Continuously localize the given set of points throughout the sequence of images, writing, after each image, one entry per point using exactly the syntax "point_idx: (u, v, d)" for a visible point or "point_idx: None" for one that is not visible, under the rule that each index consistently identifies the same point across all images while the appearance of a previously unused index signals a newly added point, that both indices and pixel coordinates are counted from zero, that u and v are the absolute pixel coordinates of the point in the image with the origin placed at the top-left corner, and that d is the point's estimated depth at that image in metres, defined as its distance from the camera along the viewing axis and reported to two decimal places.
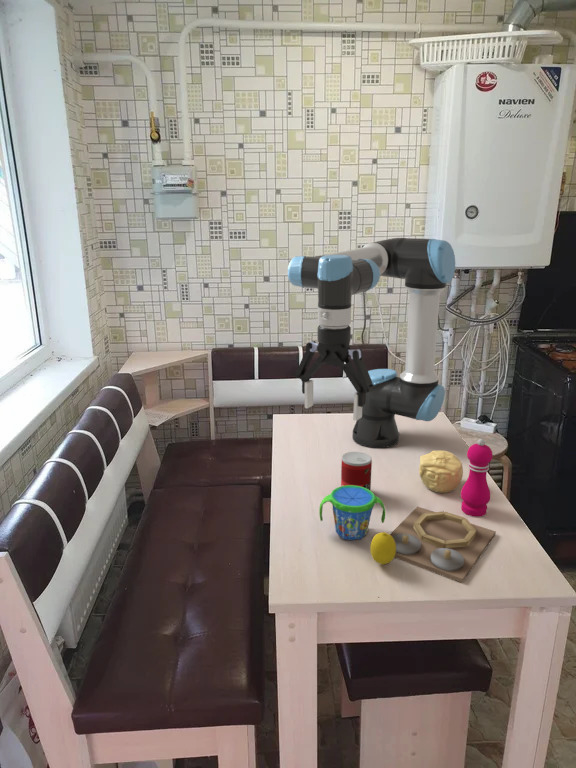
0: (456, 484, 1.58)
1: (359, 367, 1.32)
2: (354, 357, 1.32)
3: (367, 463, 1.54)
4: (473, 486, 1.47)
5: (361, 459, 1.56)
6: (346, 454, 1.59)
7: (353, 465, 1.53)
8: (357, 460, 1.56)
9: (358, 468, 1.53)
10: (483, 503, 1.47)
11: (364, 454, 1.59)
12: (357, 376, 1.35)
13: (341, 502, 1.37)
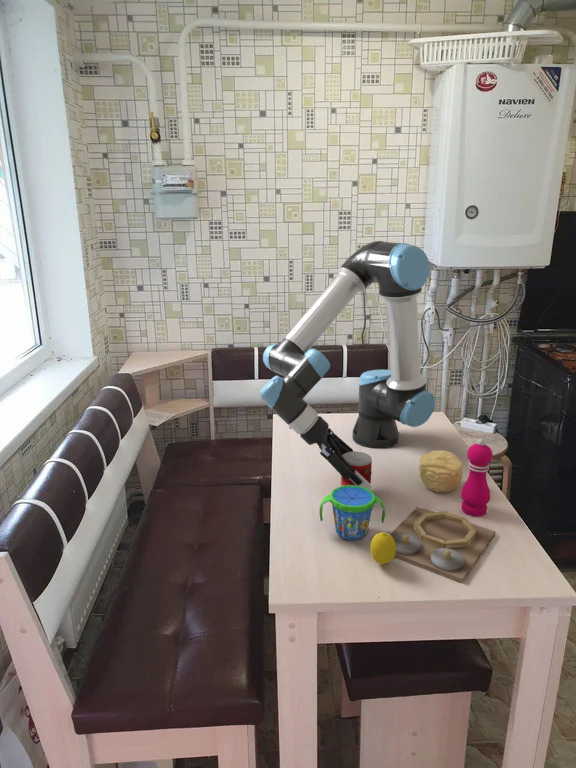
0: (456, 484, 1.58)
1: None
2: None
3: (367, 463, 1.54)
4: (473, 486, 1.47)
5: (361, 459, 1.56)
6: (346, 454, 1.59)
7: (353, 464, 1.53)
8: (357, 460, 1.56)
9: (358, 468, 1.53)
10: (483, 503, 1.47)
11: (364, 454, 1.59)
12: None
13: (341, 502, 1.37)
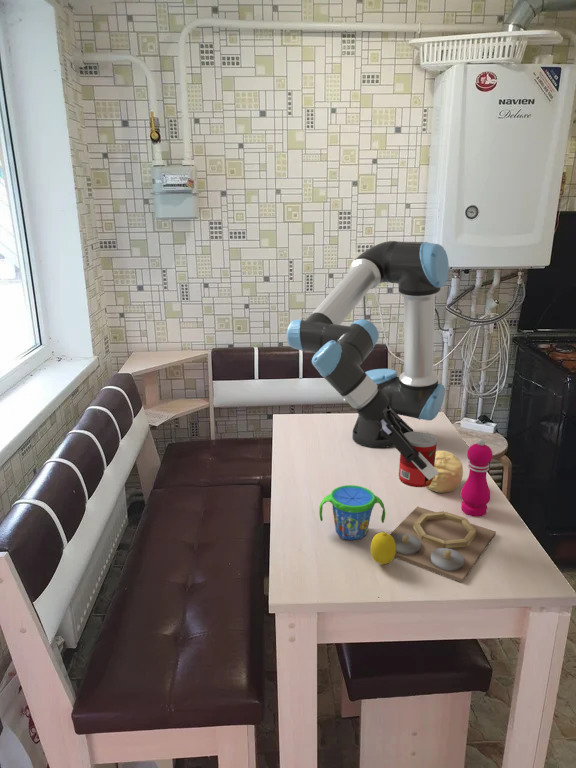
0: (456, 484, 1.58)
1: None
2: None
3: (432, 444, 1.34)
4: (473, 486, 1.47)
5: (424, 440, 1.36)
6: (407, 434, 1.39)
7: (417, 445, 1.33)
8: (420, 441, 1.36)
9: (422, 450, 1.33)
10: (483, 503, 1.47)
11: (427, 435, 1.39)
12: None
13: (341, 502, 1.37)
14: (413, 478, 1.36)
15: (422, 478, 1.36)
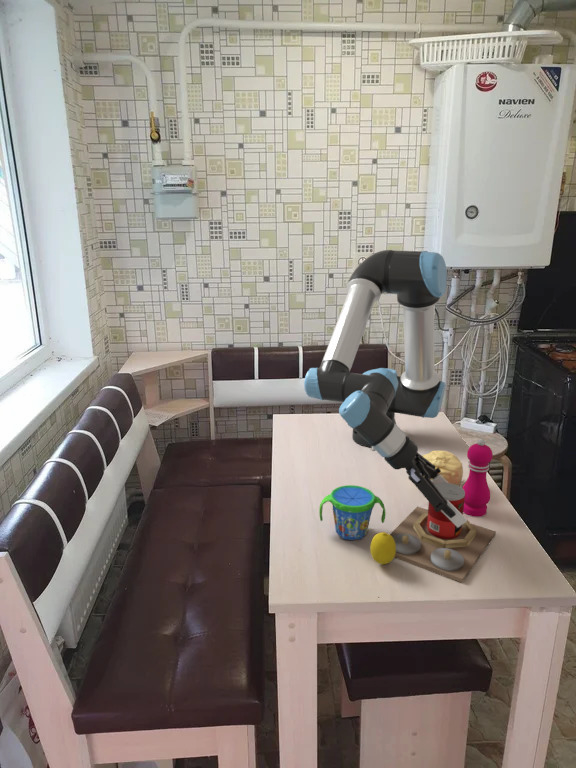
0: (456, 484, 1.58)
1: (420, 490, 1.30)
2: None
3: (461, 497, 1.35)
4: (473, 486, 1.47)
5: (453, 492, 1.37)
6: None
7: (446, 499, 1.34)
8: (448, 493, 1.37)
9: (452, 503, 1.34)
10: (483, 503, 1.47)
11: (454, 486, 1.40)
12: None
13: (341, 502, 1.37)
14: (443, 530, 1.37)
15: (451, 530, 1.37)
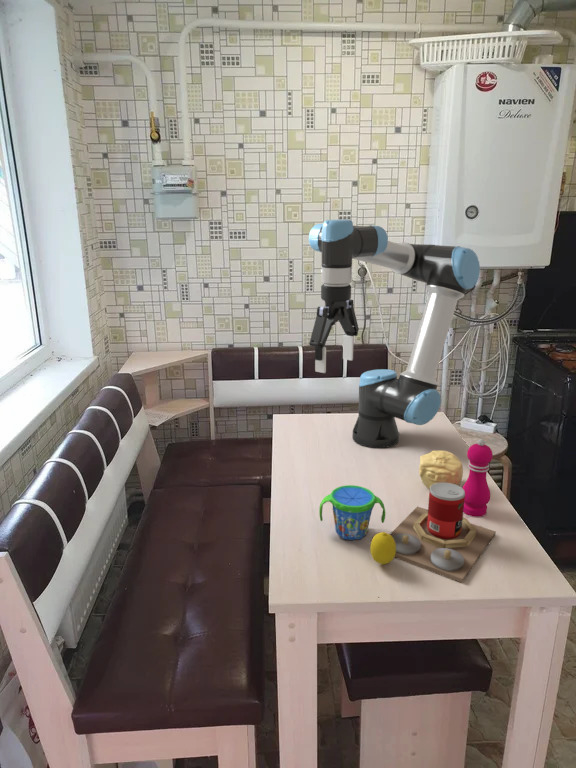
0: (456, 484, 1.58)
1: None
2: None
3: (461, 497, 1.35)
4: (473, 486, 1.47)
5: (453, 492, 1.37)
6: (434, 486, 1.40)
7: (446, 499, 1.34)
8: (448, 493, 1.37)
9: (452, 503, 1.34)
10: (483, 503, 1.47)
11: (454, 486, 1.40)
12: (324, 333, 1.46)
13: (341, 502, 1.37)
14: (443, 530, 1.37)
15: (451, 530, 1.37)
